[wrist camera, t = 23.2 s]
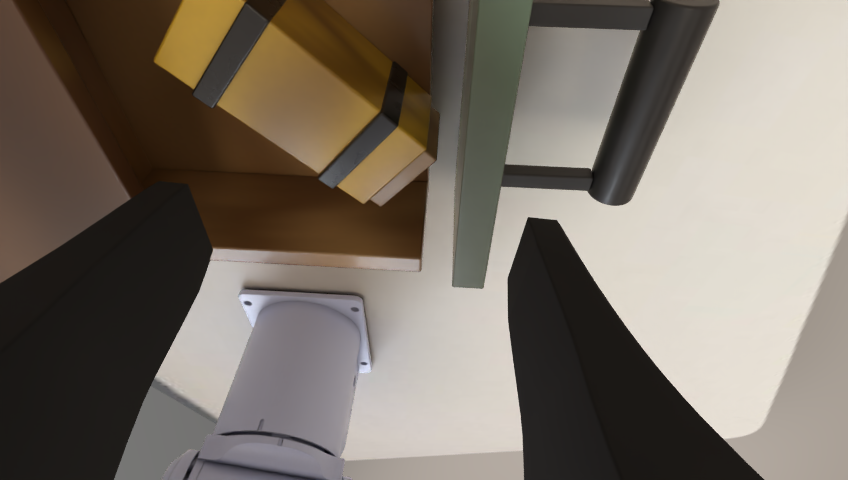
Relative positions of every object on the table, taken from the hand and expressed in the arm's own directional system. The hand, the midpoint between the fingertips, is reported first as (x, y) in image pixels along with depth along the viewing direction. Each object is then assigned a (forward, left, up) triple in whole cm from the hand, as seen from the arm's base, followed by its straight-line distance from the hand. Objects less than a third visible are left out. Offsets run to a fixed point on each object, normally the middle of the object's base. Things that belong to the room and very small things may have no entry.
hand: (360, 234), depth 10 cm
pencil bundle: (0, +3, -8) cm, 9 cm away
